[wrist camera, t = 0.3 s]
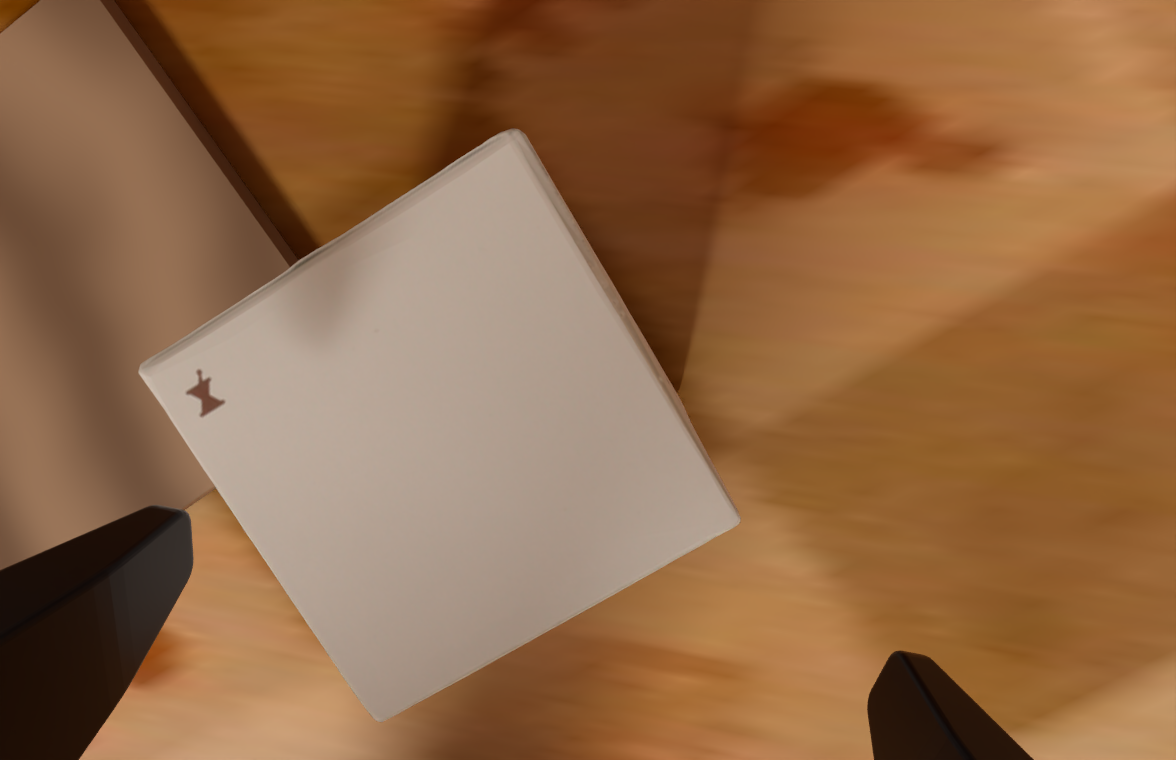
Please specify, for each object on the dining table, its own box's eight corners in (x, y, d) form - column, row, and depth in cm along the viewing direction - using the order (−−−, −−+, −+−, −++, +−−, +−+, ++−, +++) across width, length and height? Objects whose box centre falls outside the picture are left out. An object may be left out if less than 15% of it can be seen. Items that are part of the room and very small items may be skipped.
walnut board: (46, 606, 26) (23, 619, 25) (-229, 254, 25) (-265, 253, 24) (379, 374, 24) (369, 378, 23) (101, -18, 23) (77, -31, 22)
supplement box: (495, 509, 25) (361, 744, 12) (379, 320, 24) (110, 360, 11) (686, 401, 24) (756, 534, 11) (572, 203, 23) (510, 107, 11)
